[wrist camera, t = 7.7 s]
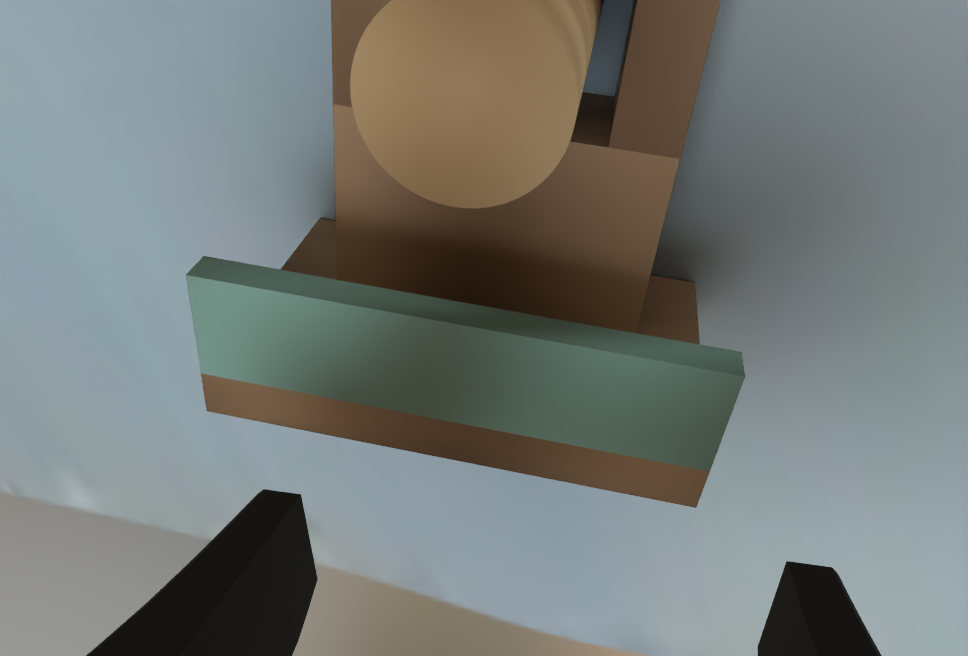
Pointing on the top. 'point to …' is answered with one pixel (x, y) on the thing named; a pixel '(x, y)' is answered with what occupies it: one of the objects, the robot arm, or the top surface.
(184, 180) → the top surface
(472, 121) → the oak peg
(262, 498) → the robot arm
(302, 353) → the brown boxy frame piece
